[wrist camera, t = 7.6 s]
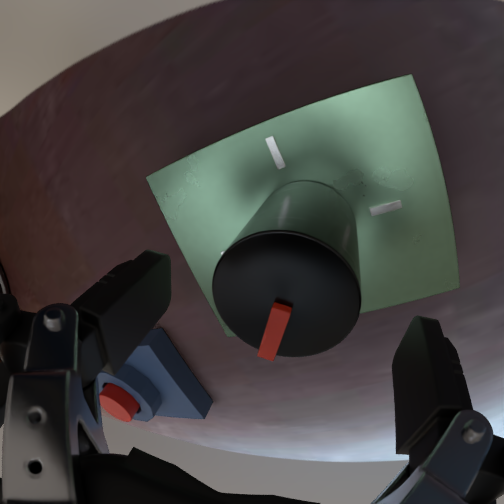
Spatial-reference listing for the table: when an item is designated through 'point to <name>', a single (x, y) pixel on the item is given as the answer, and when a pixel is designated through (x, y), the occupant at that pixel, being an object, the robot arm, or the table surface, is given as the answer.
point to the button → (118, 402)
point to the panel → (334, 176)
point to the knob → (292, 273)
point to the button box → (159, 381)
